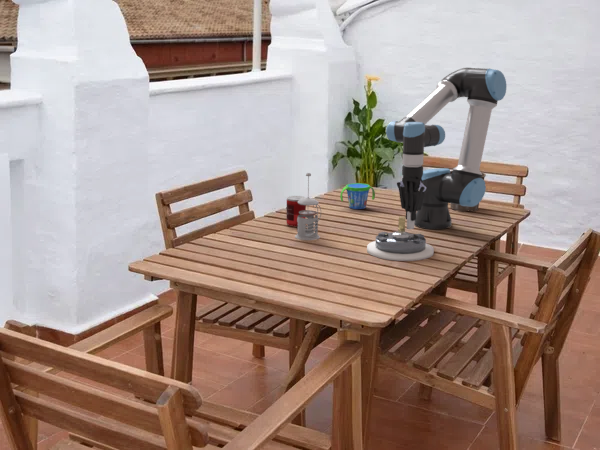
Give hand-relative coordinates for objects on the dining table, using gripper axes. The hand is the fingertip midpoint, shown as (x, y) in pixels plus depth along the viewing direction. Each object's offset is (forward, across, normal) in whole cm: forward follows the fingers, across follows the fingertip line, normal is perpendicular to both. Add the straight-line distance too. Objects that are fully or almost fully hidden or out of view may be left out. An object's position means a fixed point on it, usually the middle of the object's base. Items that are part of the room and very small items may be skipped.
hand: (410, 228), depth 311 cm
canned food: (+7, +52, +9) cm, 54 cm away
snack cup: (+7, +58, -32) cm, 66 cm away
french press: (+7, +35, +19) cm, 40 cm away
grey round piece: (+5, -2, +7) cm, 9 cm away
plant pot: (+7, +26, -68) cm, 73 cm away
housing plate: (+7, -2, +8) cm, 10 cm away
